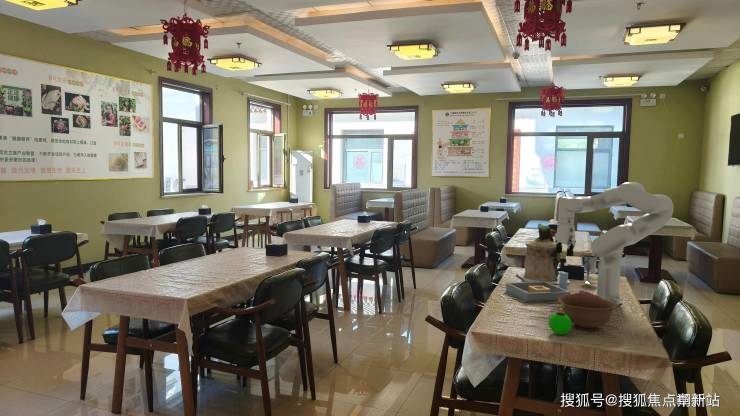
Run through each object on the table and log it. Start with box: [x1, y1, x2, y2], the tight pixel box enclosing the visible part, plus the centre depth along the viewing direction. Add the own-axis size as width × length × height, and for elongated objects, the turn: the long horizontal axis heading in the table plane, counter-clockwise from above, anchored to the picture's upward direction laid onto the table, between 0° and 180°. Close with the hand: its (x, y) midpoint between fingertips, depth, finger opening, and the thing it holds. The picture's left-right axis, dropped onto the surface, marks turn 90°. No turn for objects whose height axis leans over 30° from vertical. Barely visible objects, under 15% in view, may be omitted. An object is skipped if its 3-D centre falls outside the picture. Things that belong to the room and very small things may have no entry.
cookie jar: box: [515, 222, 571, 285], centre depth 284 cm, size 25×25×32 cm
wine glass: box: [580, 254, 598, 285], centre depth 278 cm, size 8×8×15 cm
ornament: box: [548, 307, 573, 336], centre depth 188 cm, size 8×8×10 cm
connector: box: [558, 271, 569, 291], centre depth 255 cm, size 4×4×10 cm
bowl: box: [558, 293, 619, 332], centre depth 197 cm, size 22×22×11 cm
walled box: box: [505, 281, 571, 304], centre depth 246 cm, size 22×22×4 cm
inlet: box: [528, 286, 550, 293], centre depth 249 cm, size 8×8×2 cm
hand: (564, 254), depth 254 cm, fingers open, 9 cm apart
